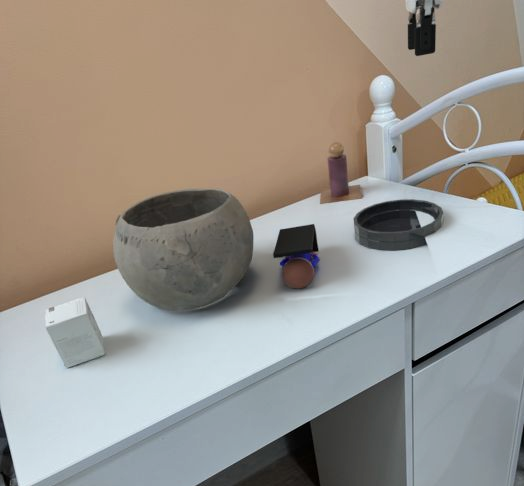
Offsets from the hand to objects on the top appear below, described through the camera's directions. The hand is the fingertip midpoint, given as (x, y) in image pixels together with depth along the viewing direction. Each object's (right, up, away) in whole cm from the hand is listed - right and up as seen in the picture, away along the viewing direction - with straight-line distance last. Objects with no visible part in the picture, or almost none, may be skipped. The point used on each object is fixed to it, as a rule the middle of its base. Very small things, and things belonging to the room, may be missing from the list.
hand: (420, 51), depth 86 cm
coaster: (-10, -18, +24) cm, 32 cm away
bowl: (-39, -41, 0) cm, 57 cm away
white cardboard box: (-55, -52, -11) cm, 76 cm away
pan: (-3, -31, +3) cm, 31 cm away
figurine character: (-21, -39, -2) cm, 44 cm away
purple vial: (-10, -17, +24) cm, 31 cm away
